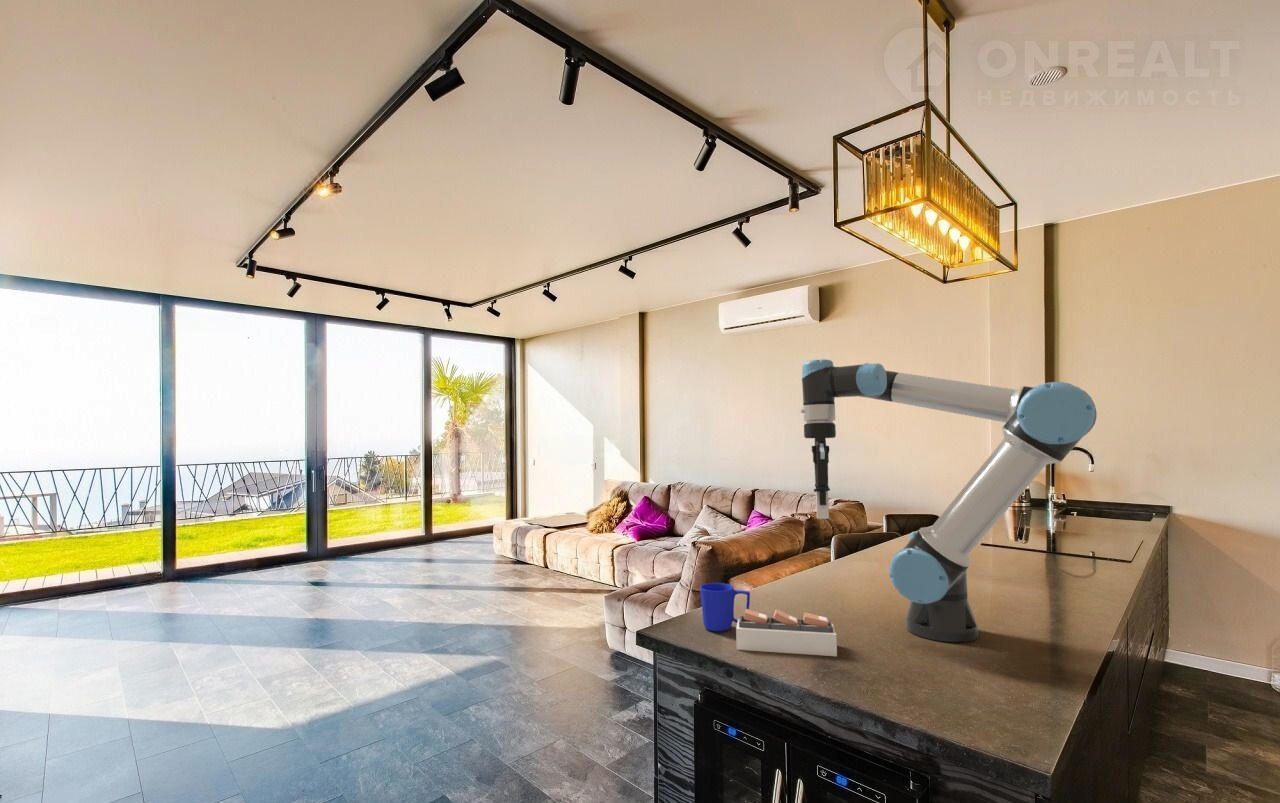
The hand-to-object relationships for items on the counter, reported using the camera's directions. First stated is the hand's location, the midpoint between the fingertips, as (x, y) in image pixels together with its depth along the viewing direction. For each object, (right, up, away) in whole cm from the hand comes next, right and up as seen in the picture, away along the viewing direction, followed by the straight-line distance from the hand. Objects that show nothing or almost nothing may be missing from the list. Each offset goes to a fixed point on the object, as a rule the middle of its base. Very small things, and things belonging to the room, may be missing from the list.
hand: (822, 518), depth 141 cm
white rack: (-13, -26, -14) cm, 32 cm away
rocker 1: (-19, -20, -12) cm, 30 cm away
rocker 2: (-13, -20, -14) cm, 27 cm away
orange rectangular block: (-6, -20, -15) cm, 26 cm away
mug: (-24, -27, -1) cm, 36 cm away
